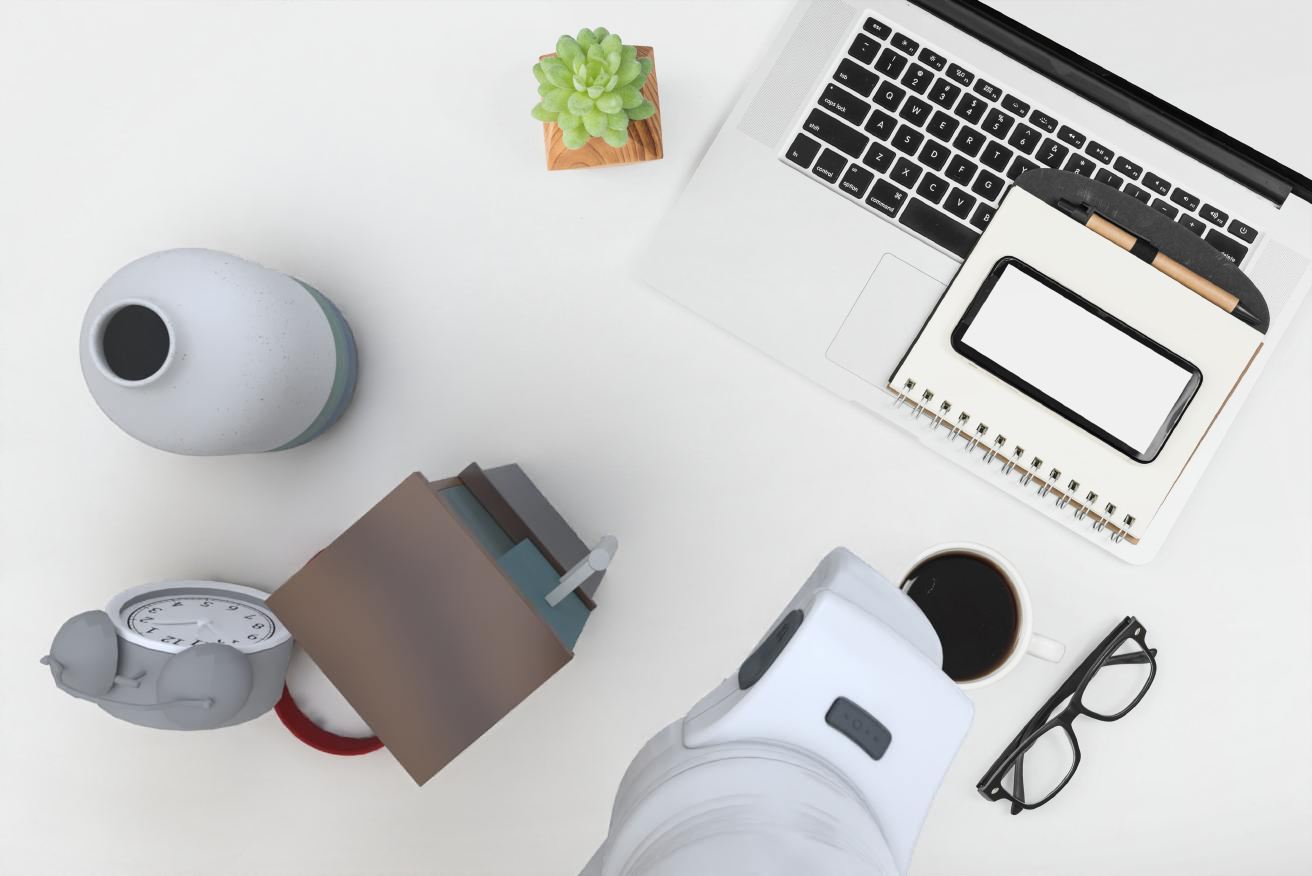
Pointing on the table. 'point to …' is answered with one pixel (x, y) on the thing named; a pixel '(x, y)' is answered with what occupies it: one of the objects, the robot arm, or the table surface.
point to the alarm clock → (176, 655)
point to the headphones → (316, 735)
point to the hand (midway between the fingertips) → (721, 709)
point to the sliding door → (556, 584)
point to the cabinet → (434, 611)
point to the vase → (216, 355)
